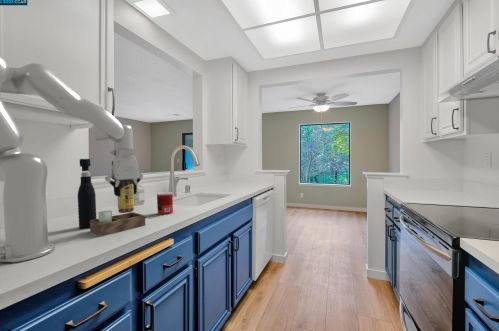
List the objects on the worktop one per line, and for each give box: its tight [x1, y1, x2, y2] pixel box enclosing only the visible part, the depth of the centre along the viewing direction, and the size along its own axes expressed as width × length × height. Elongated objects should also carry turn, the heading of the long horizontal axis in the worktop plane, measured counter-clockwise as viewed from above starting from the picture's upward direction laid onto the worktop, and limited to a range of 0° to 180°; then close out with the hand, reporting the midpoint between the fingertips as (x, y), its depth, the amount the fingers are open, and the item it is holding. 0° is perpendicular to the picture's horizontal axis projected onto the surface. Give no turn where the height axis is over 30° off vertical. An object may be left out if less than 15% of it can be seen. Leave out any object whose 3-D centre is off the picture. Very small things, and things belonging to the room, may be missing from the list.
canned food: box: [156, 191, 174, 216], centre depth 125 cm, size 8×8×11 cm
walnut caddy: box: [89, 211, 146, 237], centre depth 99 cm, size 17×12×4 cm, turn 142°
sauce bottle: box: [117, 179, 135, 214], centre depth 101 cm, size 7×6×20 cm
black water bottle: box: [77, 158, 97, 230], centre depth 101 cm, size 6×6×30 cm
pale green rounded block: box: [98, 210, 113, 224], centre depth 95 cm, size 5×5×7 cm
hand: (125, 194), depth 101 cm, fingers closed on sauce bottle, 6 cm apart
